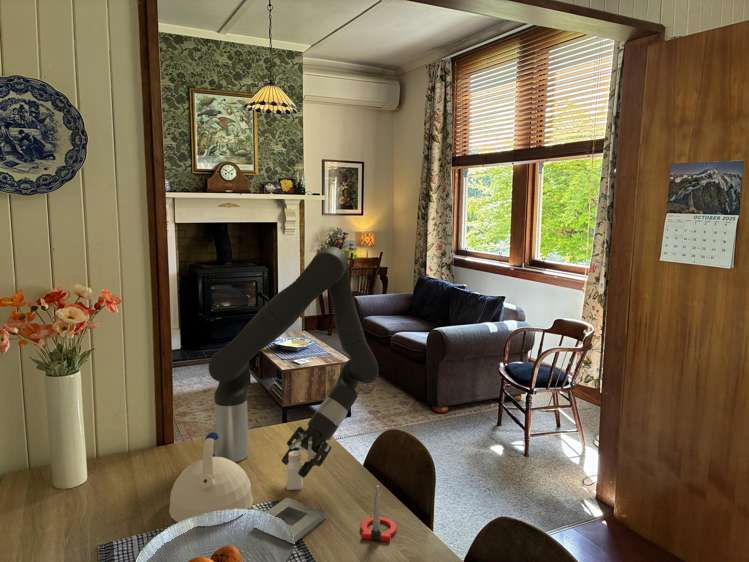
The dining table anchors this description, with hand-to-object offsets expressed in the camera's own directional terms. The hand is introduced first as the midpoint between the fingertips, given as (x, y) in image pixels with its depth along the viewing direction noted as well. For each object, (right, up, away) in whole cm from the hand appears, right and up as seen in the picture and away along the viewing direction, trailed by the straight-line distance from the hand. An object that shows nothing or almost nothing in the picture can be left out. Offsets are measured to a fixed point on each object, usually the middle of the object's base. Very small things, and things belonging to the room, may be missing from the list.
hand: (292, 469), depth 150 cm
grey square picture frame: (+2, -8, -16) cm, 17 cm away
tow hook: (+23, -9, -18) cm, 30 cm away
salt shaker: (+1, -5, +1) cm, 5 cm away
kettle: (-19, -7, -8) cm, 22 cm away
